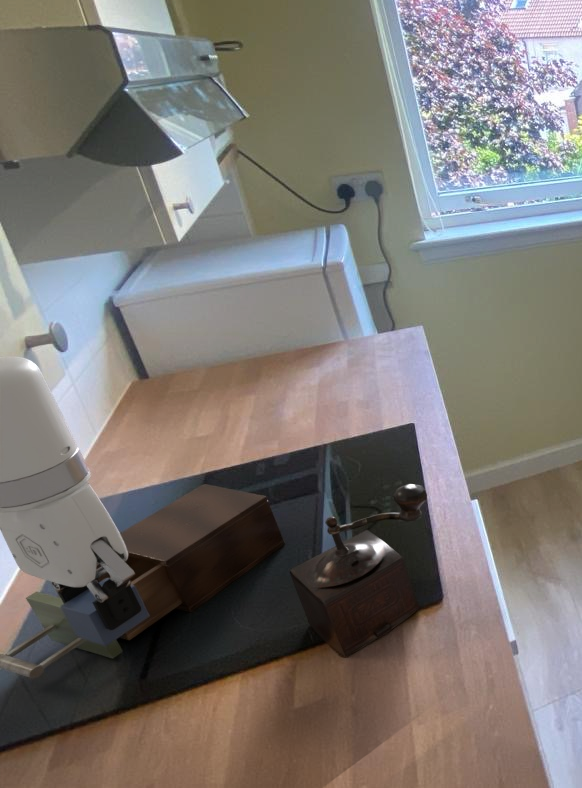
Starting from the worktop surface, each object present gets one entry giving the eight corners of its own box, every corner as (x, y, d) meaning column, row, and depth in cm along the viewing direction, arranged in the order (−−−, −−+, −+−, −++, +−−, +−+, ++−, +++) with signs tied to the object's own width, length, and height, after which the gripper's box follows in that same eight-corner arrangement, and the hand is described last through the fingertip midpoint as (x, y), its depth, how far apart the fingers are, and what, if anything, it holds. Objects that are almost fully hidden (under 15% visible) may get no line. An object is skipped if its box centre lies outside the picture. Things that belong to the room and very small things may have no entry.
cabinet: (190, 613, 101) (165, 561, 97) (125, 595, 104) (98, 545, 100) (285, 544, 113) (266, 496, 110) (224, 530, 117) (203, 483, 113)
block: (105, 646, 79) (88, 615, 77) (76, 637, 80) (59, 606, 78) (150, 616, 83) (135, 585, 81) (122, 607, 84) (106, 577, 82)
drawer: (54, 700, 87) (26, 655, 84) (-9, 679, 90) (-39, 635, 87) (216, 584, 104) (198, 544, 101) (158, 570, 107) (139, 530, 104)
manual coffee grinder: (345, 663, 92) (302, 550, 85) (306, 624, 98) (263, 516, 91) (459, 589, 104) (430, 484, 96) (418, 559, 110) (388, 458, 102)
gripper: (-69, 484, 72) (15, 623, 80) (48, 515, 68) (125, 659, 75) (24, 445, 79) (93, 576, 86) (136, 470, 74) (198, 606, 82)
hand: (107, 613), depth 81 cm, fingers closed on block, 4 cm apart
